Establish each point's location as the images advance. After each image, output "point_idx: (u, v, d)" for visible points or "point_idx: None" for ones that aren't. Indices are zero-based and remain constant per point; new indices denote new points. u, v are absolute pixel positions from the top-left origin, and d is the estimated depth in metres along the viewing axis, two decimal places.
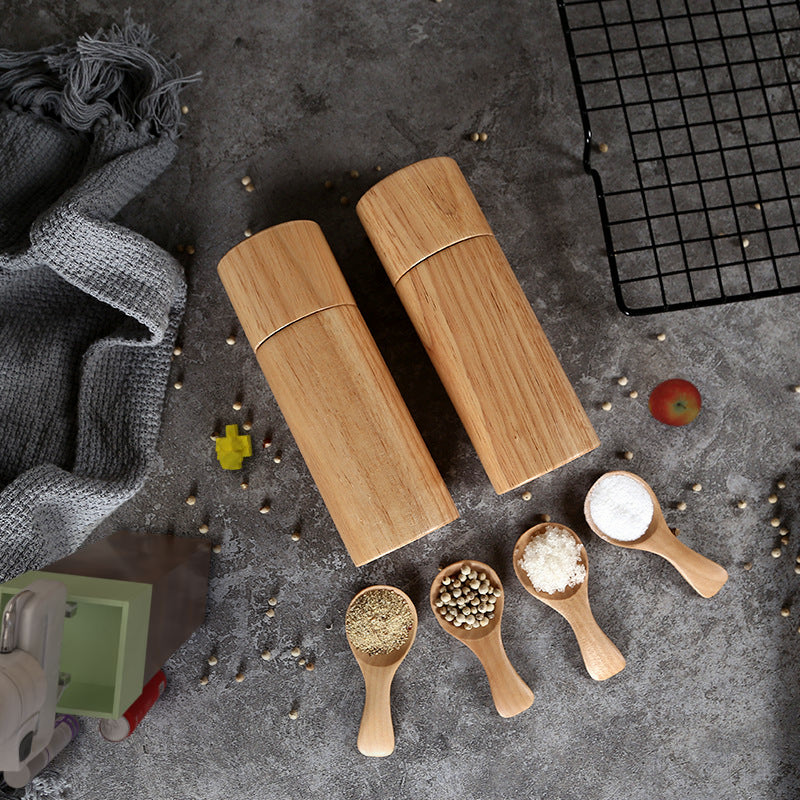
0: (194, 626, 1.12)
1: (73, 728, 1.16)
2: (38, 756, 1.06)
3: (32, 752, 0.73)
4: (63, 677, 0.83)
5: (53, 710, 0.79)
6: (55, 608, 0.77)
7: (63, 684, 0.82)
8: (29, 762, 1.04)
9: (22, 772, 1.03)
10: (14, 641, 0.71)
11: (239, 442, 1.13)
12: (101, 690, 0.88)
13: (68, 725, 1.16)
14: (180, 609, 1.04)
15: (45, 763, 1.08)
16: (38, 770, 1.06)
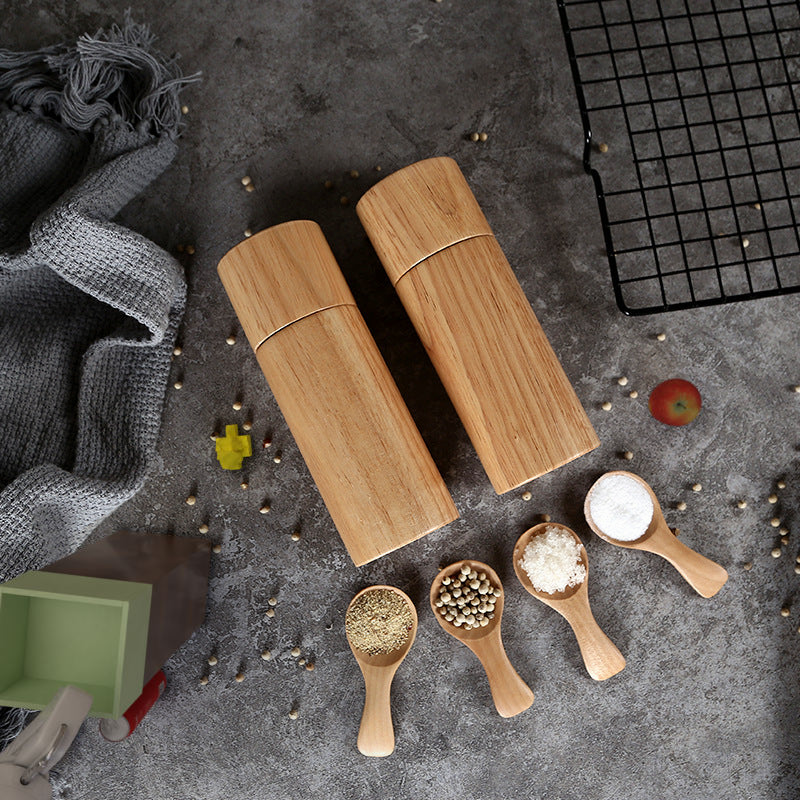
0: (194, 626, 1.12)
1: None
2: None
3: None
4: None
5: None
6: None
7: None
8: None
9: None
10: None
11: (239, 442, 1.13)
12: (101, 690, 0.88)
13: None
14: (180, 609, 1.04)
15: None
16: None
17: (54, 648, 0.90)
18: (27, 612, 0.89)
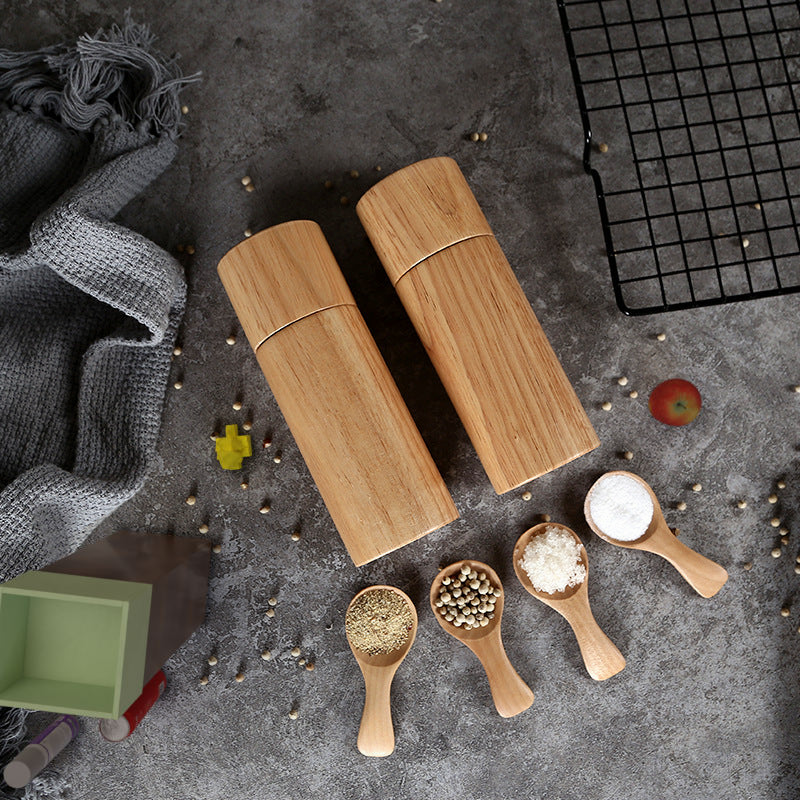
0: (194, 626, 1.12)
1: (73, 728, 1.16)
2: (38, 756, 1.06)
3: None
4: None
5: None
6: None
7: None
8: (29, 762, 1.04)
9: (22, 772, 1.03)
10: None
11: (239, 442, 1.13)
12: (101, 690, 0.88)
13: (68, 725, 1.16)
14: (180, 609, 1.04)
15: (45, 763, 1.08)
16: (38, 770, 1.06)
17: (54, 648, 0.90)
18: (27, 612, 0.89)
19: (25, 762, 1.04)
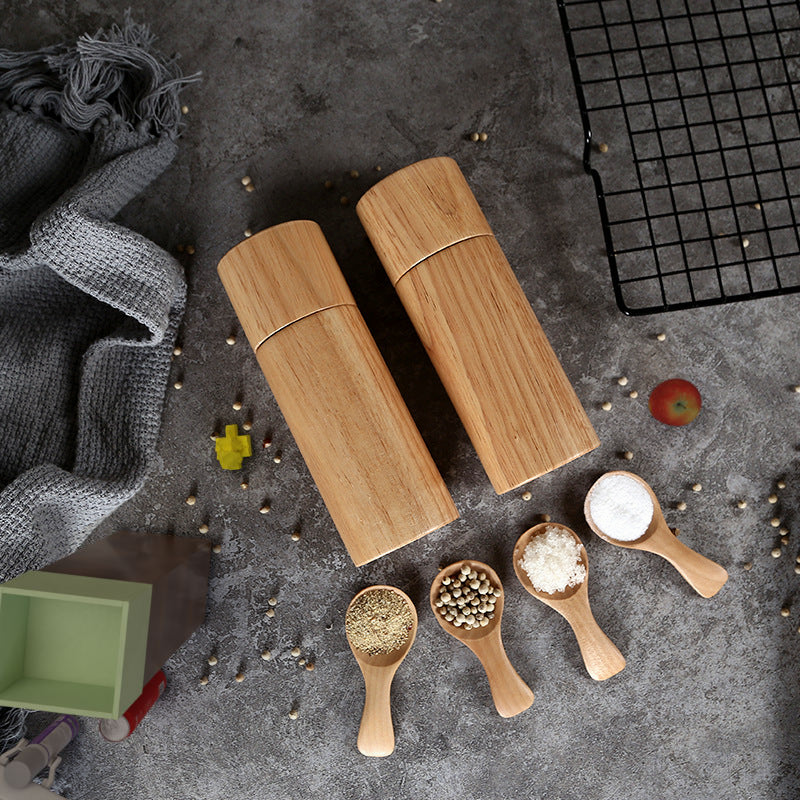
0: (194, 626, 1.12)
1: (73, 728, 1.16)
2: (38, 756, 1.06)
3: None
4: None
5: None
6: None
7: (20, 751, 1.09)
8: (29, 762, 1.04)
9: (22, 772, 1.03)
10: None
11: (239, 442, 1.13)
12: (101, 690, 0.88)
13: (68, 725, 1.16)
14: (180, 609, 1.04)
15: (45, 763, 1.08)
16: (38, 770, 1.06)
17: (54, 648, 0.90)
18: (27, 612, 0.89)
19: (26, 762, 1.04)
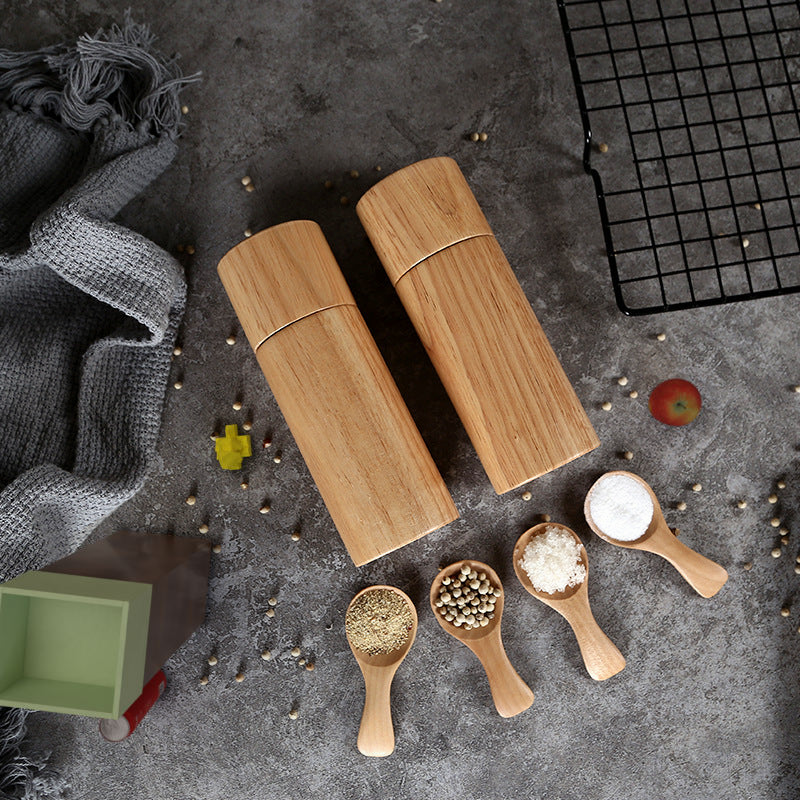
0: (194, 626, 1.12)
1: None
2: None
3: None
4: None
5: None
6: None
7: None
8: None
9: None
10: None
11: (239, 442, 1.13)
12: (101, 690, 0.88)
13: None
14: (180, 609, 1.04)
15: None
16: None
17: (54, 648, 0.90)
18: (27, 612, 0.89)
19: None
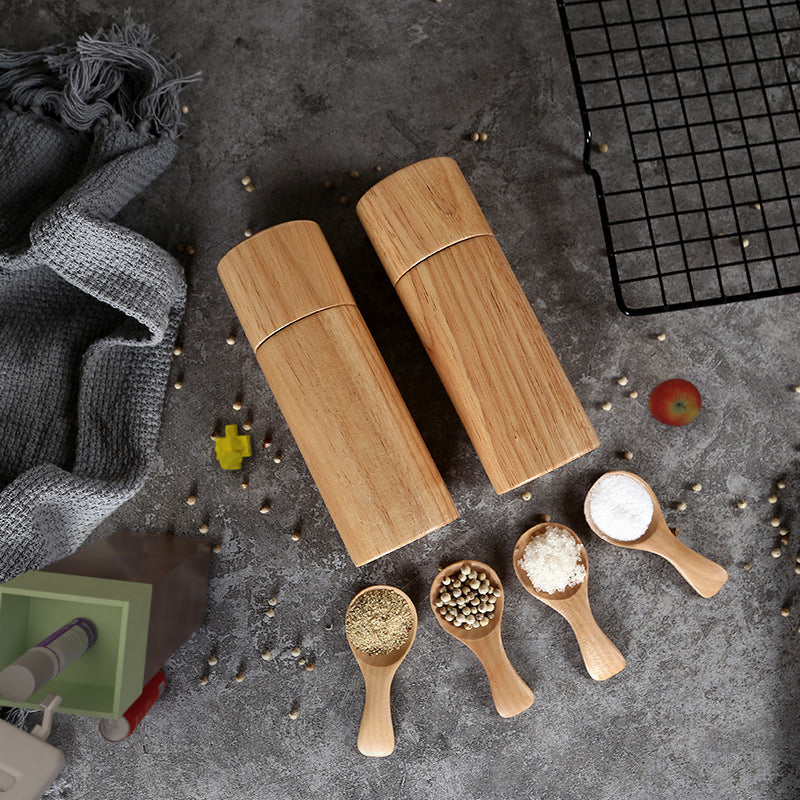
0: (194, 626, 1.12)
1: (90, 634, 0.87)
2: (45, 661, 0.77)
3: None
4: None
5: None
6: None
7: None
8: (33, 667, 0.75)
9: (23, 680, 0.74)
10: None
11: (238, 442, 1.13)
12: (101, 690, 0.88)
13: (84, 630, 0.87)
14: (180, 609, 1.04)
15: (54, 672, 0.79)
16: (45, 680, 0.77)
17: None
18: (27, 612, 0.89)
19: (28, 666, 0.75)
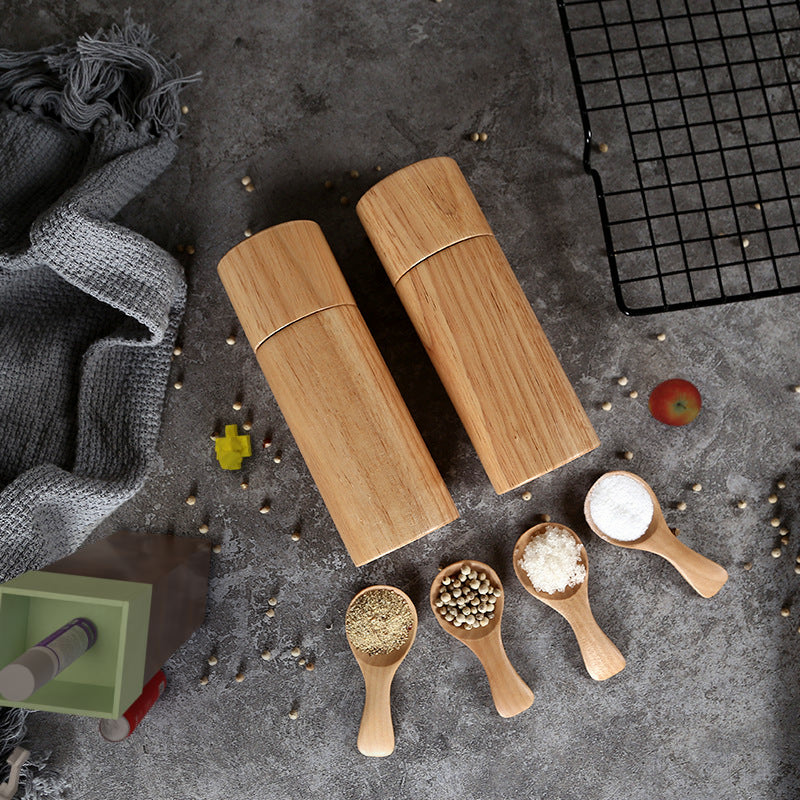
0: (194, 626, 1.12)
1: (90, 634, 0.87)
2: (45, 661, 0.77)
3: None
4: None
5: None
6: None
7: None
8: (33, 666, 0.75)
9: (23, 679, 0.74)
10: None
11: (238, 442, 1.13)
12: (101, 690, 0.88)
13: (84, 630, 0.87)
14: (180, 609, 1.04)
15: (54, 672, 0.79)
16: (45, 679, 0.77)
17: None
18: (27, 612, 0.89)
19: (28, 666, 0.75)
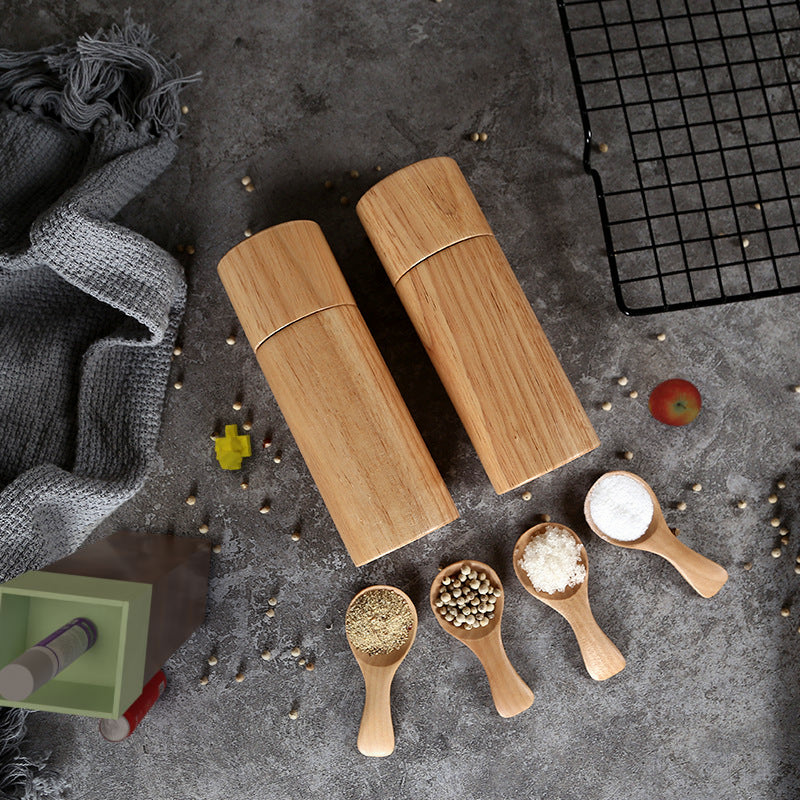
0: (194, 626, 1.12)
1: (90, 634, 0.87)
2: (44, 661, 0.77)
3: None
4: None
5: None
6: None
7: None
8: (32, 666, 0.75)
9: (22, 679, 0.74)
10: None
11: (238, 442, 1.13)
12: (101, 690, 0.88)
13: (84, 630, 0.87)
14: (180, 609, 1.04)
15: (53, 672, 0.79)
16: (44, 679, 0.77)
17: None
18: (27, 612, 0.89)
19: (27, 666, 0.75)
